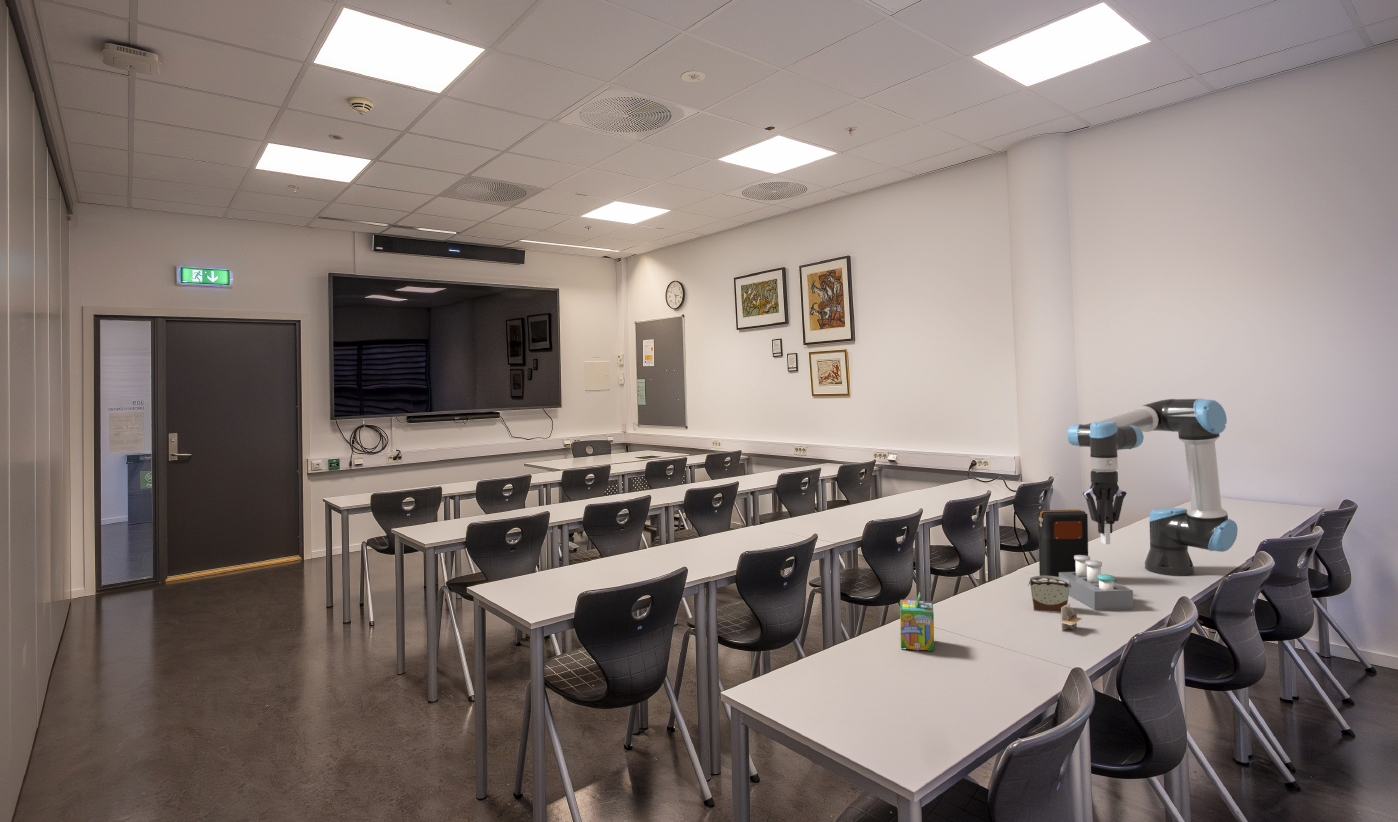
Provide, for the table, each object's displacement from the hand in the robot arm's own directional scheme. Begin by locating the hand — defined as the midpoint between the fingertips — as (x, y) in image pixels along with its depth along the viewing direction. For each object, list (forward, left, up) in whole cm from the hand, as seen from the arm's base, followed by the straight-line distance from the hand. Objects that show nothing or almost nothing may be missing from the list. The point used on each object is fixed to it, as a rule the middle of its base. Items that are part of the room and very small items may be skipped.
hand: (1105, 543), depth 220 cm
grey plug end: (0, -14, -16) cm, 21 cm away
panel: (0, -7, -20) cm, 21 cm away
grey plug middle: (0, -7, -16) cm, 17 cm away
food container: (+19, +1, -20) cm, 28 cm away
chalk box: (+69, +27, -21) cm, 77 cm away
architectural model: (+22, +19, -21) cm, 36 cm away
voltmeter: (-2, -30, -20) cm, 36 cm away
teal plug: (0, 0, -19) cm, 19 cm away
